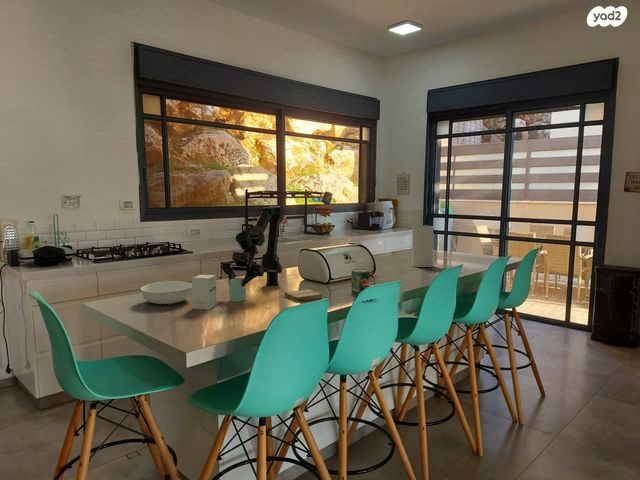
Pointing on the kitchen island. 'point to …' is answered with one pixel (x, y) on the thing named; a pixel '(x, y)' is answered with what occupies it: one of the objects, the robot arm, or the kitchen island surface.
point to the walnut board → (303, 295)
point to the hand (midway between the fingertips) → (235, 285)
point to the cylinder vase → (422, 246)
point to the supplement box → (204, 292)
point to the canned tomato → (359, 280)
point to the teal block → (237, 290)
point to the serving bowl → (167, 292)
